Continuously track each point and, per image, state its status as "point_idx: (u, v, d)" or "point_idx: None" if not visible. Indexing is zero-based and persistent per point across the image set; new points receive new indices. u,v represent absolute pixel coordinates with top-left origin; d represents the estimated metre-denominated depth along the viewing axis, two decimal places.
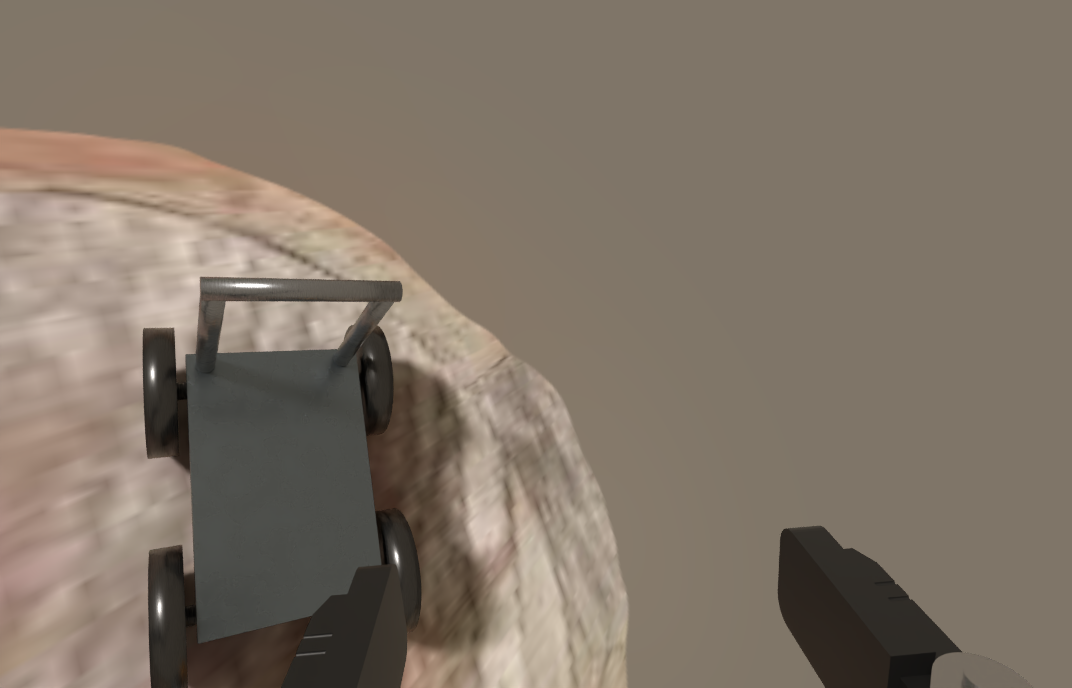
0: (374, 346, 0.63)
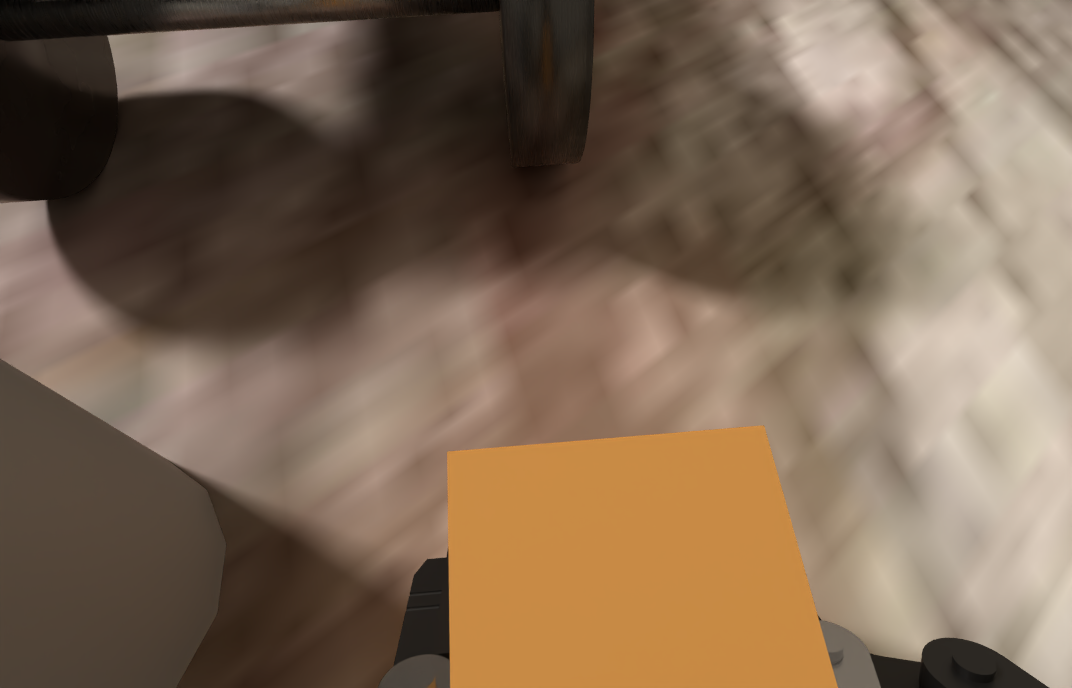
0: None
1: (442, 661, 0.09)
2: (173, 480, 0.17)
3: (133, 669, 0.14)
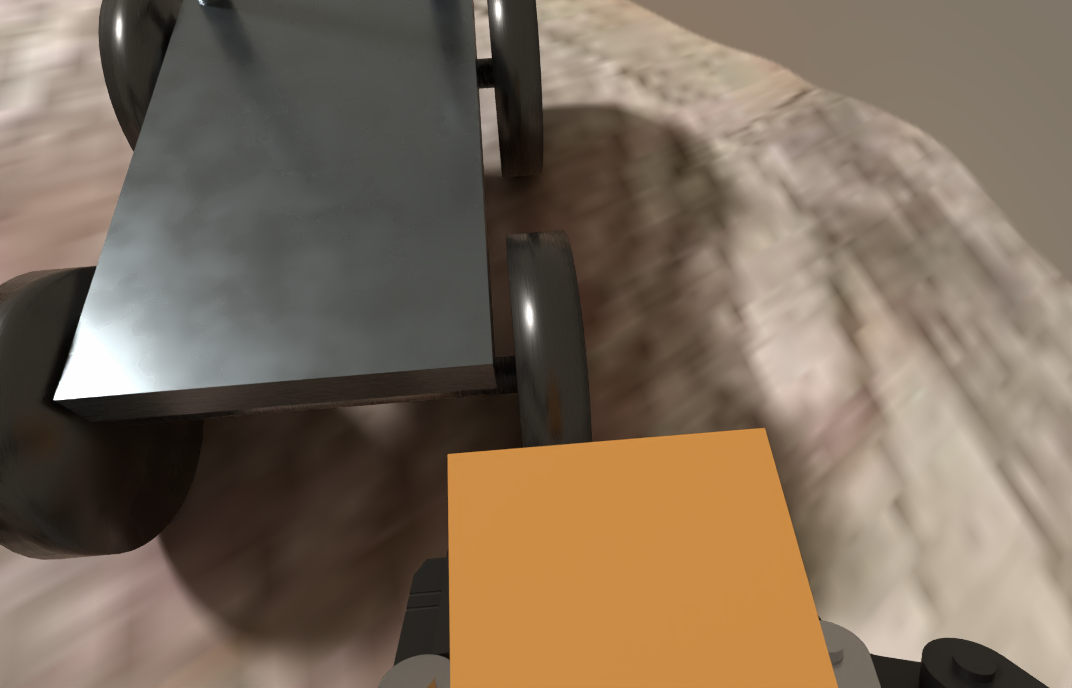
0: None
1: (442, 661, 0.09)
2: None
3: None
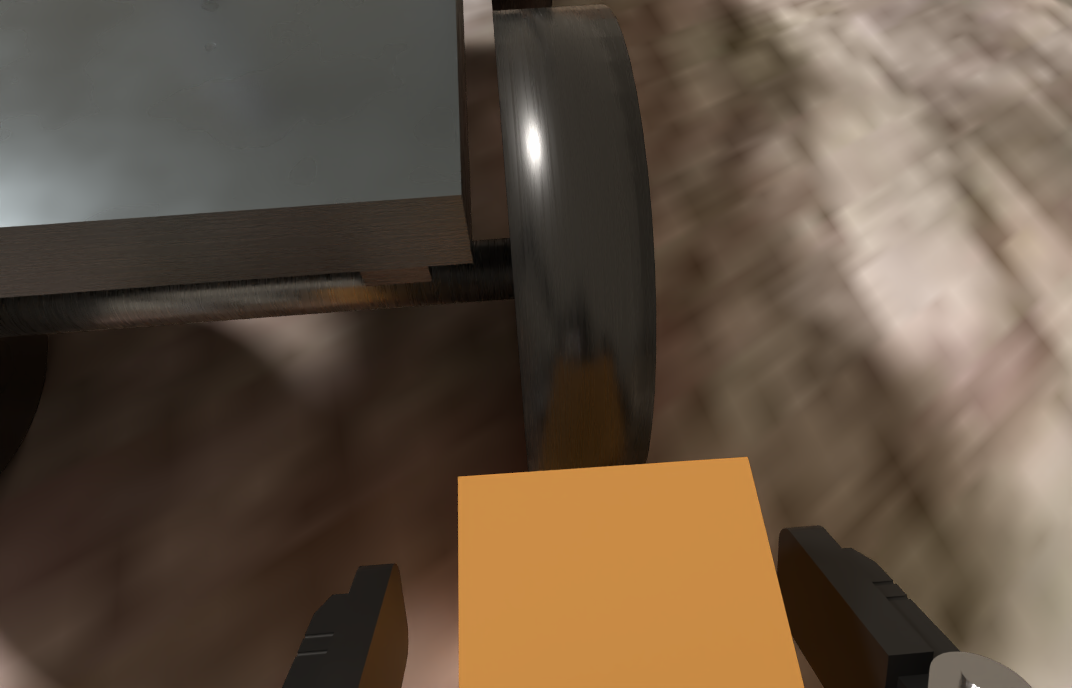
0: None
1: None
2: None
3: None
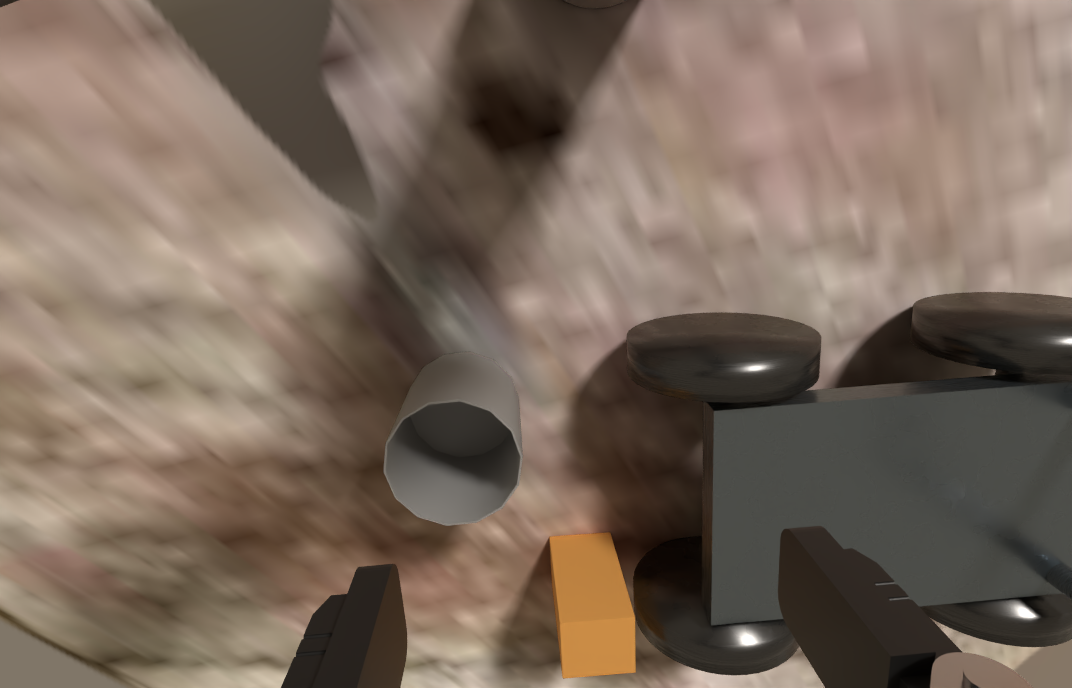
0: None
1: None
2: None
3: None
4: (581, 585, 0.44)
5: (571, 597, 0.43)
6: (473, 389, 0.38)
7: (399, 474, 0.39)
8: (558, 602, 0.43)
